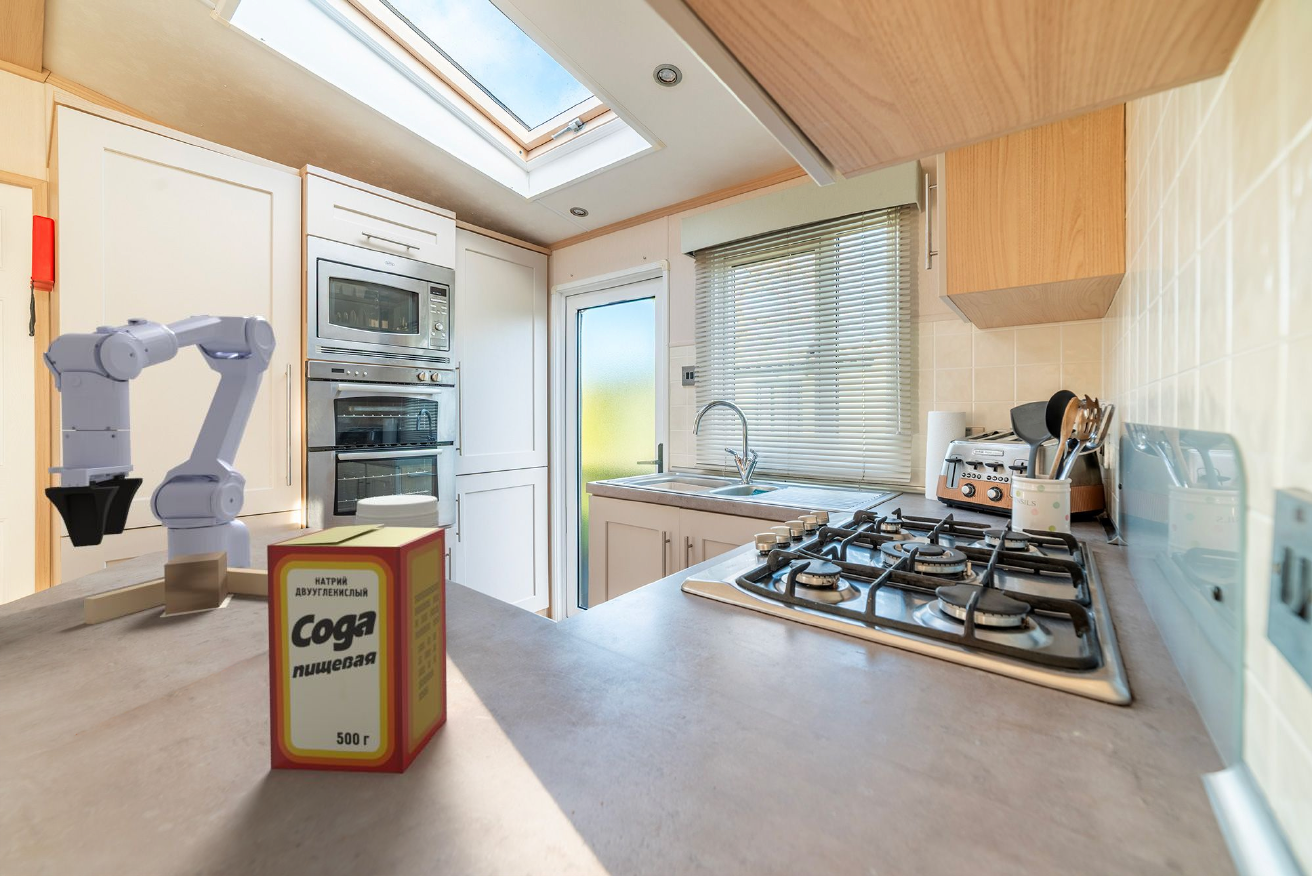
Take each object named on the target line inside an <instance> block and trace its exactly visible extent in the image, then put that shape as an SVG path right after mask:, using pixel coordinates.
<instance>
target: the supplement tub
mask: <svg viewBox="0 0 1312 876" xmlns="http://www.w3.org/2000/svg"><path fill="white" fill-rule="evenodd" d="M439 510H440V508H439V506H438V498H437V497H436V496H434V495H433V496H432V495H427V494H426V495H425V494H395V495H385V496H384V495H382V496H374V497H373V496H372V497H367V498H363V499H360V500H358V501H356V512H355V517H354V519H355V521H354V524H355V525H354V526H360V525H376V524H384V525H381V526H378V527H376V528H384V527H413V528H440V527H439V526H440V523H439V522H440V521H439V520H440V519H439V514H440V513H439Z"/></svg>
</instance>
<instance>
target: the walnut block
mask: <svg viewBox="0 0 1312 876" xmlns="http://www.w3.org/2000/svg"><path fill="white" fill-rule="evenodd" d="M163 566H164V567H163V569H164V571H163V572H164V578H165V604H164V608H165V611H164V612H165V615H166V614H173V613H181V612H188V611H195V610H202V609H210V608H217V607H220V605H221V604H222V603H223V601H224V600H225V599H226V598H227V596H228V595H229V592H228V587H227V551H224V552H213V553H203V554H192V555H182V556H176V557H175V558H173V559H172V560H170V561H169V562H168V561H167V563H165V564H164V565H163Z"/></svg>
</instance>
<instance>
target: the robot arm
mask: <svg viewBox="0 0 1312 876" xmlns="http://www.w3.org/2000/svg"><path fill="white" fill-rule="evenodd" d="M126 321H127V324H126V325H120V326H115V327H114V326H112V325H102V326H97V327H96V328H95V330H96V331H93V332H92V333H77V332H76V333H75V332H73V333H64V334H61V335H59V336H58V337H56V338H55V339H54V340H53V341H51V343H50V344H49V345H48V348H47V351H46V352H42V356H43V360H44V365H46V367H47V369H48V370H49V371H50V372H51V374H52V376H53V378H54V388H55V389H56V388H57V391H58V392H59V393H60V395H61V396H60V398H61V430H62V431H61V432H62V433H61V434H62V436H61V437H62V438H61V439H62V440H61V441H62V444H61V445H62V466H52V467H48V469H47V470H48V471H47V472H48V474H60V486H50V487H46V488H44V494H45V496H46V497H47V499H48V500H49V501H50V502H51V503H52V504H53V505H54V507H55V508H56V510H57V511H58V512H59V514H60V516H61V518H62V520H63V523H64V525H65V527H66V531H67V535H68V536H69V540H70V542H71V544H72V546H73V548H81V547H91V546H92V547H93V546H99V545H101V544H102V541H103V537H104V536H111V535H112V536H113V535H122V534H123V533H124V530H125V527H126V524H127V520H128V516H129V512H130V508H131V505H132V502H133V499H134V498H135V496H136V494H137V492H138V490H139V488H140V487H141V486H142V484H143V481H144V478H143V477H131V478H130V477H129V476H130V473H131V472H133V471H134V465H133V464H132V462H131V461H132V457H131V456H132V455H131V454H132V453H131V419H130V418H131V417H130V415H131V414H130V413H131V412H130V408H131V407H130V380H135V379H136V378H137V377H139V375H141V373H142V370H143V369H145V368H149V367H151V366H155V365H157V364H161V363H165V362H168V361H171V360H173V358H175V357H176V356H177V354H178V352H179V349H181V348H184V347H189V346H190V347H191V346H194V345H195V346H196V347H197V349H198V351H199V352H200V354H201V355H202V357H203V358H204V360H205V361H206V364H207V365H208V366H209V368H210V369H211V370H212V371H214V372H216V373H219V374H220V377H221V378H220V379H219V382H218V385H217V388H216V390H215V392H214V395H213V398H212V399H211V403H210V405H209V406H208V407H209V408H208V410H207V413H206V415H205V417H204V420H203V423H202V426H201V428H200V431H199V433H198V435H197V438H196V441H195V444H194V446H193V449H192V451H191V453H190V455H189V459H187V460H186V461H184V462H182V463H180V464H178V465H177V466H175V467H173V468H171V469H170V470H168V471H167V472H166V474H165V477H164V479H163V480H162V482H161V483H159V484H158V485H157V486H156V488H155V489H154V491H153V492H152V494H151V497H150V502H149V503H150V504H149V506H150V511H151V512H152V513H151V514H152V516H153V517H154V518H155V519H156V520H157V521H160V522H161V527H162V528H167V532H166V533H167V563H168V562H169V561H170V560H172V559H173V558H175V557H176V556H182V555H192V554H203V553H213V552H224V551H227V567H228V568H245V569H251V536H250V535H251V534H250V531H249V529H248V527H247V525H246V523H244V522H243V521H242V520H239V519H235V518H236V517H237V516H238V515H239V514H240V512H241V511H242V509H243V506H244V503H245V497H244V496H245V495H244V490H245V485H246V482H247V480H246V479H245V478H244V476H243V475H242V474H241V473H240V472H239V471H238V470H237V469H235V468H234V467H233V464H234V462H235V459H236V456H237V453H238V450H239V448H240V444H241V442H242V438H243V436H244V433H245V431H246V427H247V424H248V421H249V418H250V416H251V413H252V410H253V407H254V404H255V401H256V398H257V396H258V392H259V390H260V386H261V384H262V381H263V375H264V372H266V371H267V370H268V369H269V366H270V362H271V360H272V357H273V354H274V352H275V348H276V345H277V340H276V337H275V334H274V330H273V327H272V326H271V323H269V321H268V320H267V319H266V318H264V317H263V316H260V315H254V316H253V315H252V316H235V315H234V316H229V315H227V316H225V315H224V316H221V315H219V316H218V315H209V314H201V315H191V316H190V317H187V318H185V319H181V320H178V321H175V322H172V323H168V324H165V325H164V324H162V323H160V322H157V321H151V320H148V319H147V318H145V317H133V318H128V319H127V320H126Z"/></svg>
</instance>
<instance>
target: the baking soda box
mask: <svg viewBox="0 0 1312 876" xmlns="http://www.w3.org/2000/svg"><path fill="white" fill-rule="evenodd" d="M381 525H384V524H376V525H360V526H355V525H347V526H332V527H328V528H323V529H321V530H317V531H313V532H310V533H307V534H303V535H299V536H296V537H293V538H288V539H285V540H281V541H279V542H274V543H270V544H267V545H266V551H267V552H266V553H267V554H266V555H267V557H266V558H267V559H266V560H267V562H266V565H267V570H268V596H267V606H268V607H267V615H268V621H267V622H268V667H269V668H268V669H269V671H268V673H269V675H268V676H269V678H268V679H269V725H270V727H269V731H270V733H269V734H270V736H269V739H270V741H269V742H270V744H269V745H270V746H269V747H270V769H271V770H293V771H294V770H296V771H298V770H299V771H323V772H324V771H325V772H351V773H352V772H353V773H354V772H355V773H359V772H360V773H381V774H386V773H387V774H404V773H405V772H406V770H408V768H409V767H410V766H411V764H412V763H413V762H414V761H415V759H416V758H417V757H418V755H419V754H420V753H421V752H422V751H423V750H424V748H425V747H426V746H427V744H428V743H430V741H431V740H432V739H433V737H434V736H435V734H437V732H438V731H439V730H440V729H441V728H442V726H443V725H444V724H445V723H446V721H447V720H448V711H447V710H448V708H447V707H448V705H447V704H448V703H447V702H448V700H447V699H448V698H447V695H448V694H447V689H448V688H447V686H448V685H447V621H446V620H447V617H446V616H447V613H446V611H447V607H446V605H447V604H446V599H447V597H446V596H447V595H446V593H447V592H446V591H447V590H446V588H447V587H446V528H445V527H439V528H413V527H384V528H376V527H378V526H381Z"/></svg>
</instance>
